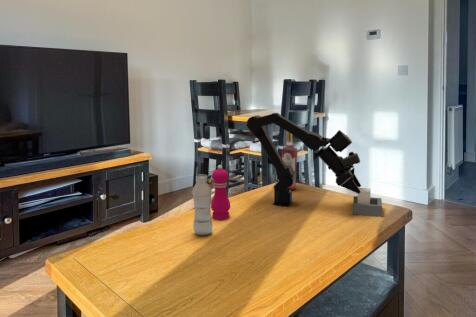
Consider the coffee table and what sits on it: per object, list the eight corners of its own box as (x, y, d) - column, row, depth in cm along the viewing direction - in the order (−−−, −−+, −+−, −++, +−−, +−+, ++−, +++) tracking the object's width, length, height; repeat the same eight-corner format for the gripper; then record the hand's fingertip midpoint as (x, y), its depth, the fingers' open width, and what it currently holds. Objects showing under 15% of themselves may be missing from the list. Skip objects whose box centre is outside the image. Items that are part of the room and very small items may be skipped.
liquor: (298, 188, 186) (299, 129, 180) (294, 192, 179) (295, 131, 174) (283, 186, 189) (284, 128, 183) (279, 190, 182) (279, 130, 177)
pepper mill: (207, 217, 147) (205, 165, 143) (220, 212, 152) (220, 162, 148) (220, 221, 142) (219, 168, 138) (234, 216, 147) (233, 164, 143)
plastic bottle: (197, 239, 127) (195, 178, 123) (190, 231, 133) (188, 174, 129) (215, 235, 129) (214, 176, 125) (208, 228, 135) (207, 172, 131)
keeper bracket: (352, 214, 149) (352, 203, 148) (353, 205, 159) (353, 196, 158) (381, 216, 146) (382, 206, 145) (380, 207, 156) (381, 198, 155)
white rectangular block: (357, 211, 151) (358, 190, 150) (357, 208, 156) (358, 187, 154) (369, 213, 150) (370, 191, 148) (369, 209, 154) (370, 188, 153)
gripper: (346, 150, 141) (377, 182, 140) (349, 142, 159) (376, 171, 157) (323, 170, 145) (352, 201, 144) (328, 160, 163) (354, 188, 161)
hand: (360, 189), depth 152 cm, fingers open, 9 cm apart
